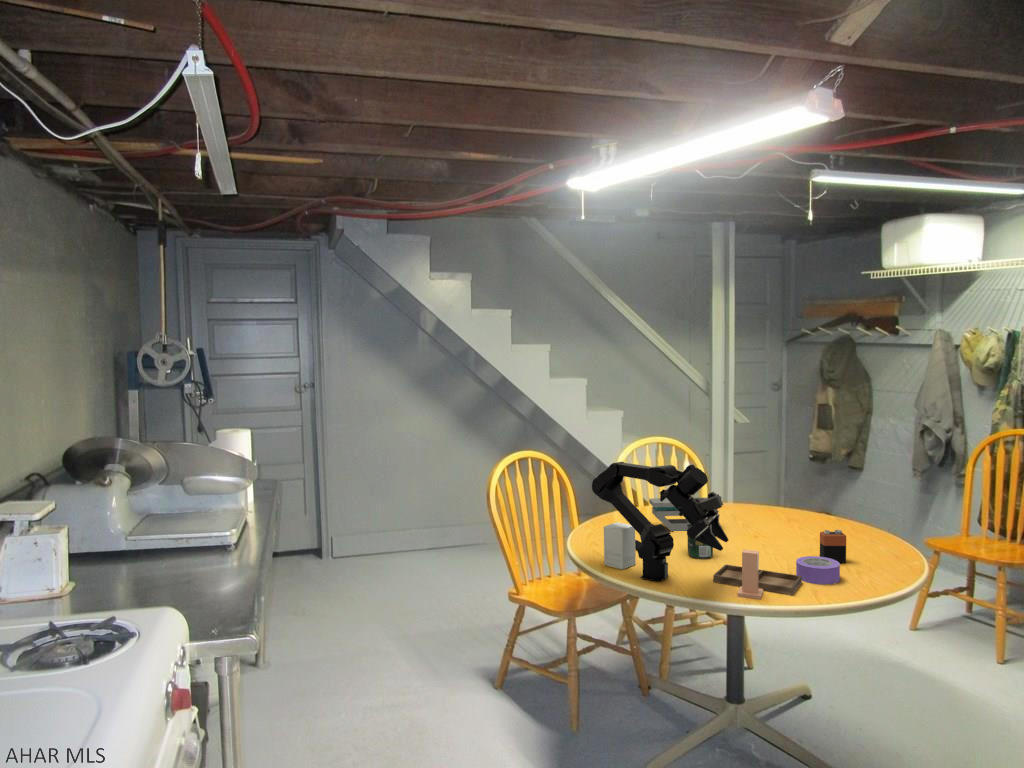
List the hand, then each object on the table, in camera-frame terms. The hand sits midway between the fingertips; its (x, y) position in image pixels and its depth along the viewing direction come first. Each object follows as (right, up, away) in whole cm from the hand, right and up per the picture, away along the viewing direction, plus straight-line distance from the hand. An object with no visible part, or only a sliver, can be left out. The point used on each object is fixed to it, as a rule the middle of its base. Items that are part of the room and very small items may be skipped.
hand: (724, 545), depth 199 cm
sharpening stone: (+6, -10, +69) cm, 70 cm away
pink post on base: (+6, -13, -2) cm, 15 cm away
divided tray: (+12, -12, +8) cm, 19 cm away
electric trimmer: (-15, -12, +38) cm, 43 cm away
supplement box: (-25, -12, +26) cm, 38 cm away
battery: (+42, -11, +26) cm, 50 cm away
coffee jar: (+2, -11, +35) cm, 37 cm away
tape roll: (+31, -12, +11) cm, 35 cm away
